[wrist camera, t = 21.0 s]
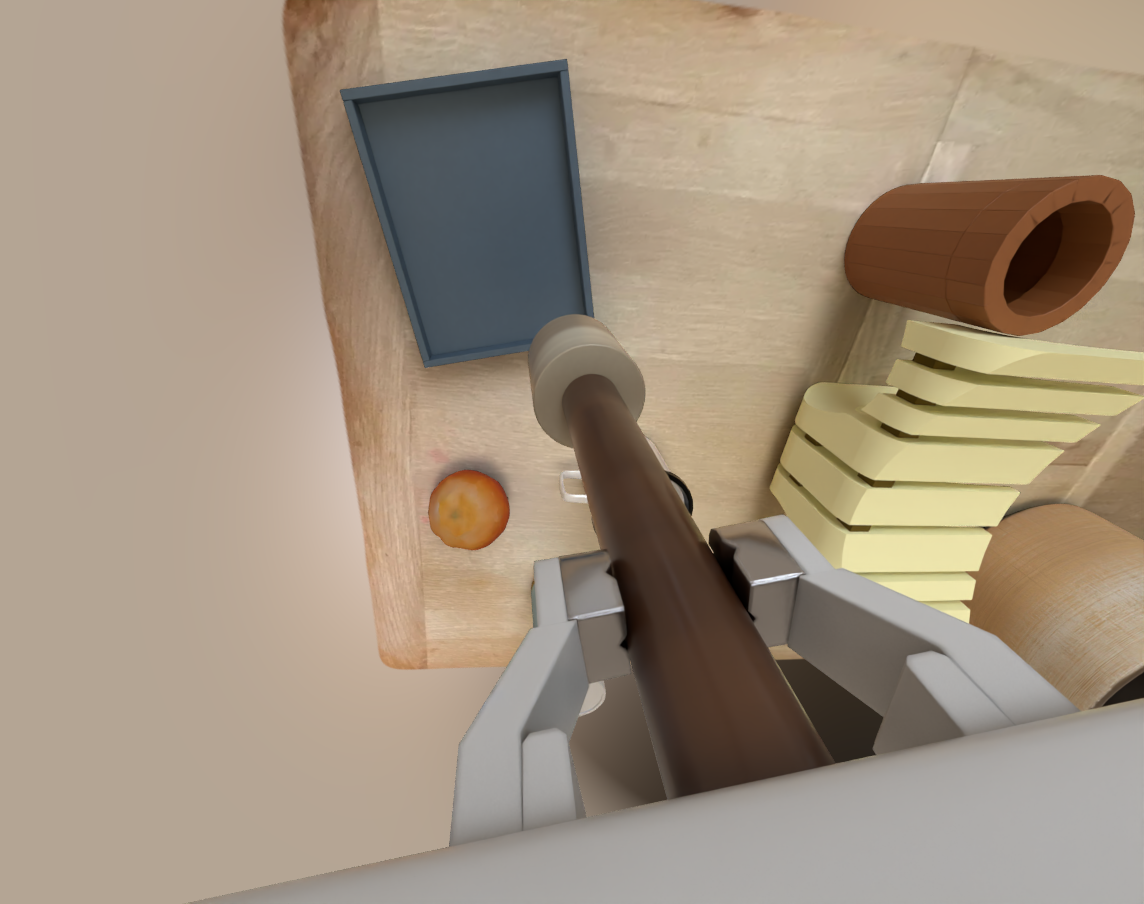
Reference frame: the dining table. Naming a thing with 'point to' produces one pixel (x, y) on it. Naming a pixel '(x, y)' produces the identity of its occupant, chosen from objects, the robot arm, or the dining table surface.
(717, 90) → the dining table surface
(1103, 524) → the planter
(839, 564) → the slatted curved stool
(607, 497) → the bottle brush
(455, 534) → the fruit
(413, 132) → the tray
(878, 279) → the terracotta utensil crock
